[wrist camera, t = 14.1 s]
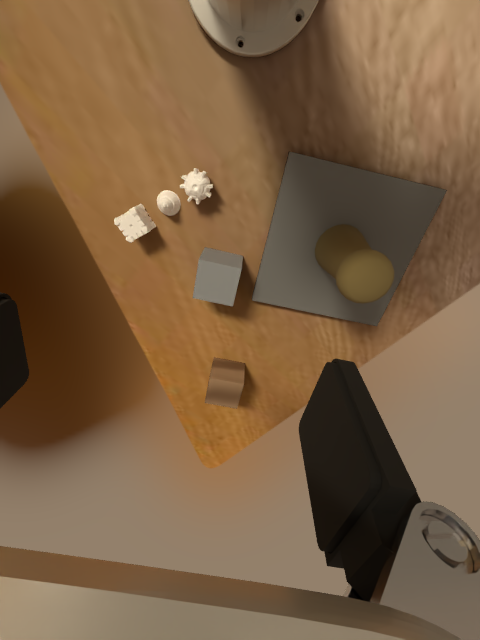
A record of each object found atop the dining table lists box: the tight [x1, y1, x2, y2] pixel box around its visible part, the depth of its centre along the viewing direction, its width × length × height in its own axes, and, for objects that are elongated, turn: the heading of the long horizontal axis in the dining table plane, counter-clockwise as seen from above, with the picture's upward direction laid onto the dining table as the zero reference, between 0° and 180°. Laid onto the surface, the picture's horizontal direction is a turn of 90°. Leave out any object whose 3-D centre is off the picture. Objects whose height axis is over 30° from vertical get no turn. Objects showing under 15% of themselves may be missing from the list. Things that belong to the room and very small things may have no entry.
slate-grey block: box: [193, 247, 243, 306], centre depth 37 cm, size 5×5×5 cm
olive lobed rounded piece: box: [315, 224, 394, 304], centre depth 32 cm, size 6×6×11 cm
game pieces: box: [114, 168, 213, 243], centre depth 34 cm, size 12×3×3 cm, turn 118°
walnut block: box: [205, 357, 245, 409], centre depth 46 cm, size 5×5×5 cm
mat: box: [252, 152, 447, 326], centre depth 37 cm, size 18×18×1 cm
